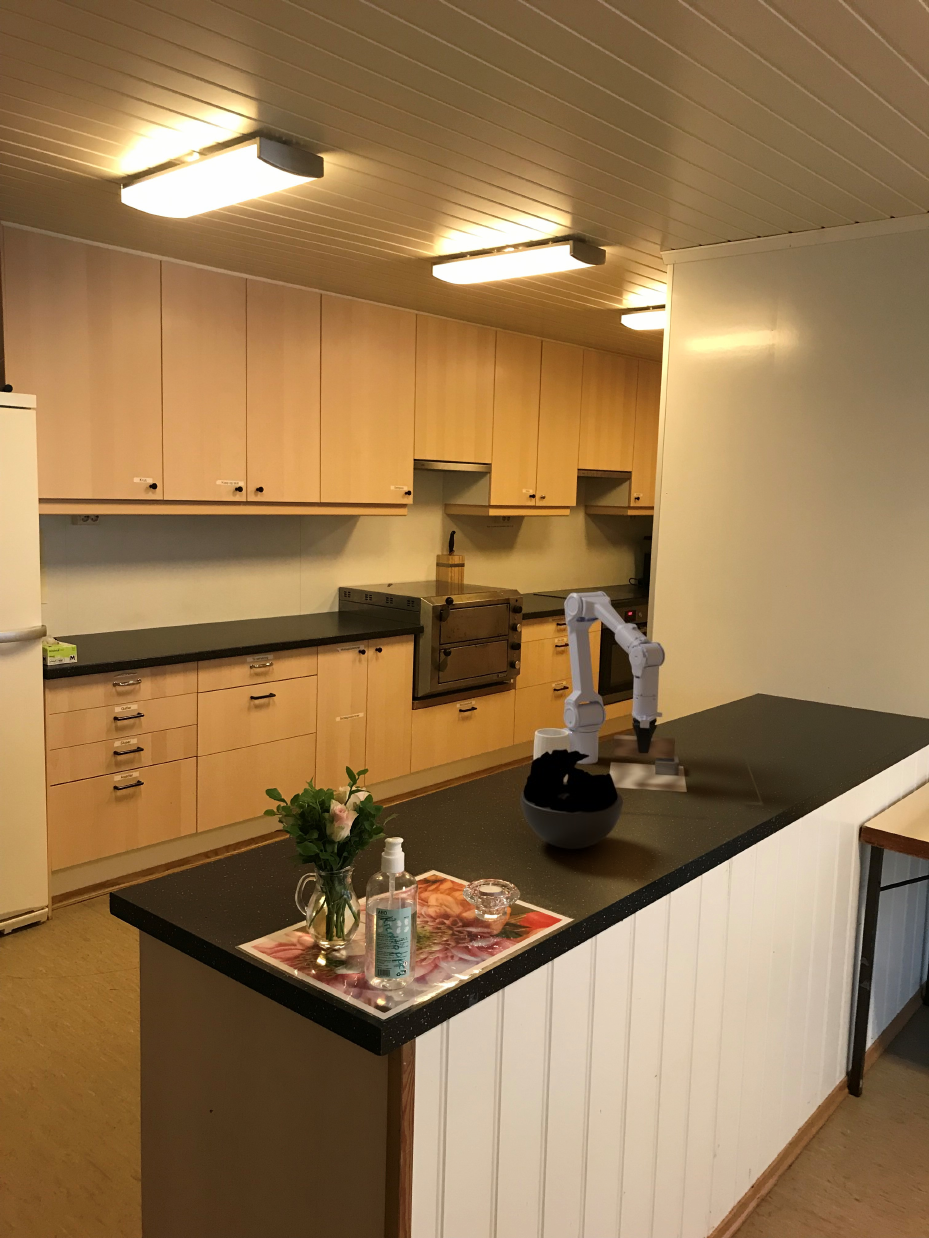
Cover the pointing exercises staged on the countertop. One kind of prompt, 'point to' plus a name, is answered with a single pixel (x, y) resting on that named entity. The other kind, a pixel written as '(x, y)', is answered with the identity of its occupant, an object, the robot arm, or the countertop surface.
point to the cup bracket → (667, 766)
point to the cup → (551, 742)
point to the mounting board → (645, 777)
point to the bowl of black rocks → (569, 801)
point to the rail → (657, 748)
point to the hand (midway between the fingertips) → (643, 750)
